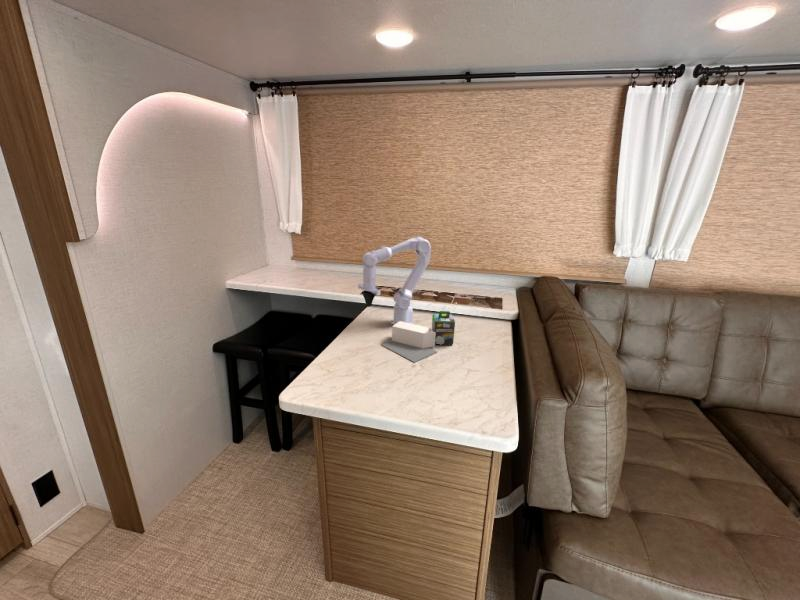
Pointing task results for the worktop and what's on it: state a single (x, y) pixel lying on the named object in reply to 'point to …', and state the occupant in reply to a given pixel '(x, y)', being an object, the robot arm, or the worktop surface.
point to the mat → (409, 351)
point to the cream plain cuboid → (413, 335)
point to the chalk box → (443, 327)
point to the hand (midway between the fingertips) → (368, 305)
